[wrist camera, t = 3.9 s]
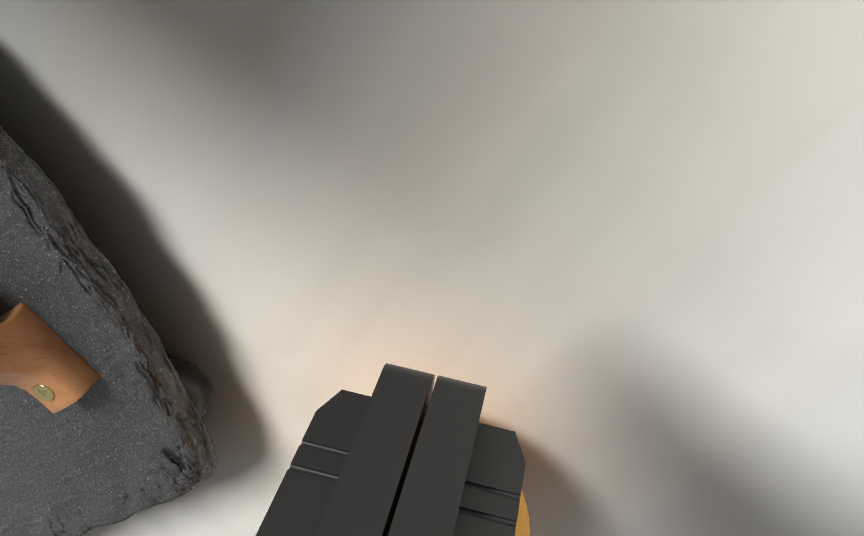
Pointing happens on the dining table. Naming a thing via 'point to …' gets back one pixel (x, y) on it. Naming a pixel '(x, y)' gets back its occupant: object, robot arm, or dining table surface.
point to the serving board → (82, 376)
